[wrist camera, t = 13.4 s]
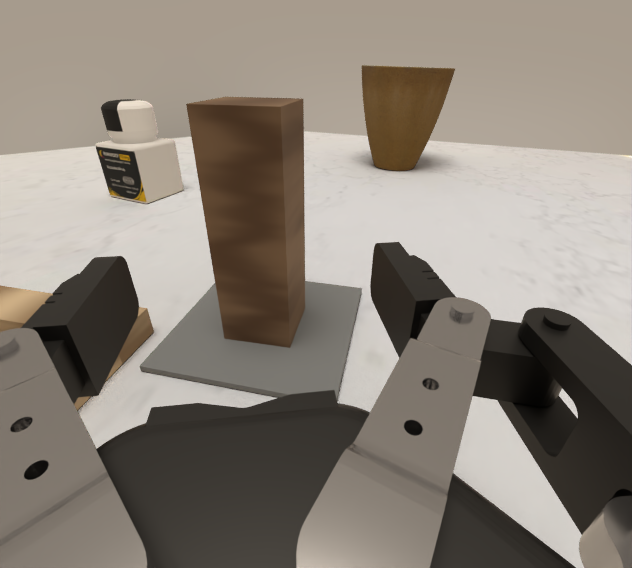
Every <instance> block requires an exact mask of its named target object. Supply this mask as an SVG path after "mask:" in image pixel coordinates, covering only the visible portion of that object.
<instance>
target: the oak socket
mask: <svg viewBox="0 0 632 568" xmlns="http://www.w3.org/2000/svg"><path fill="white" fill-rule="evenodd" d="M51 295H53V294H51V293H44V292H38V291H31V290H25V289H18V288H12V287H5V286H0V332H2V331H6V330H10V329H15V328H21V327H22V326H23V325H24V324H25V323H26V321H27V320H28V319H29V318H30V317H31V316H32V315H33V314H34V313H35V312H36V311H37V310H38V309H39V307H40V306H41V305H42V304H45V301H46V300H47V299H48V298H49V297H50V296H51ZM153 332H154V330H153V327H152V324H151V320H150V317H149V313H148V310H147V308H141V307H139V312H138V317H137V319H136V321H135V323H134V325H133V327H132V329H131V331H130V333H129V335H128V337H127V339H126V341H125V343H124V345H123V347H122V349H121V351H120V353H119V355H118V357H117V359H116V361H115V363H114V365H113V367H112V369H111V371H110V373H109V375H108V377H107V379H108V378H109V377H110V376H111V375H112V374H113V373H114V372H115V371H116V370H117V369H118V368H119V367H120V366H121V365H122V364H123V363H124V362H125V361H126V360H127V359H128V358H129V357H130V356H131V355H132V354H133V353H134V352H135V351H136V350H137V349H138V348H139V347H140V346H141V345H142V343H143V342H144V341H145V340H146V339H147V338H148V337H149V336H150V335H151V334H152V333H153ZM107 379H106V381H107ZM106 381H105V382H106ZM90 397H91V396H89V397H78V399H77V400H76V402H75V404H74V405H75V407H76V409H77V410H78V409H79V408H80V407H81V406H82V405H83V404H84V403H85V402H86V401H87V400H88V399H89V398H90Z"/></svg>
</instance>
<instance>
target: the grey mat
mask: <svg viewBox="0 0 632 568" xmlns="http://www.w3.org/2000/svg"><path fill="white" fill-rule="evenodd" d="M361 291H362V288H355V287H347V286H339V285H331V284H323V283H315V282H308V281H305V310H304V313H303V315H302V318H301V321H300V323H299V326H298V328H297V331H296V334H295V336H294V339H293V341H292V344H291V347H290V348H287V347H280V346H273V345H266V344H259V343H252V342H244V341H237V340H230V339H224V333H223V327H222V321H221V314H220V308H219V302H218V296H217V290H216V284H214V285H213V286H212V287H211V288H210V289H209V290H208V291H207V293H206V294H205V295H204V296H203V297H202V298H201V299H200V300H199V301H198V302H197V304H196V305H195V306H194V307H193V308H192V309H191V310H190V311H189V312H188V313H187V315H186V316H185V317H184V318H183V319H182V320H181V321H180V322H179V323H178V324H177V326H176V327H175V328H174V329H173V330H172V331H171V332H170V333H169V334H168V335H167V337H166V338H165V339H164V340H163V341H162V342H161V343H160V344H159V345H158V346H157V348H156V349H155V350H154V351H153V352H152V353H151V354H150V355H149V356H148V357H147V359H146V360H145V361H144V362H143V363H142V364H141V365H140V369H141V371H144V372H149V373H154V374H159V375H165V376H170V377H175V378H180V379H185V380H191V381H196V382H201V383H206V384H212V385H217V386H222V387H227V388H232V389H238V390H243V391H248V392H253V393H258V394H264V395H269V396H274V397H279V398H280V397H283V396H287V395H290V394H297V393H307V392H317V391H328V390H335V395H336V399H337V398H338V394H339V389H340V385H341V381H342V376H343V372H344V367H345V363H346V358H347V354H348V349H349V345H350V341H351V336H352V332H353V327H354V323H355V318H356V314H357V310H358V305H359V301H360V296H361Z"/></svg>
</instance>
